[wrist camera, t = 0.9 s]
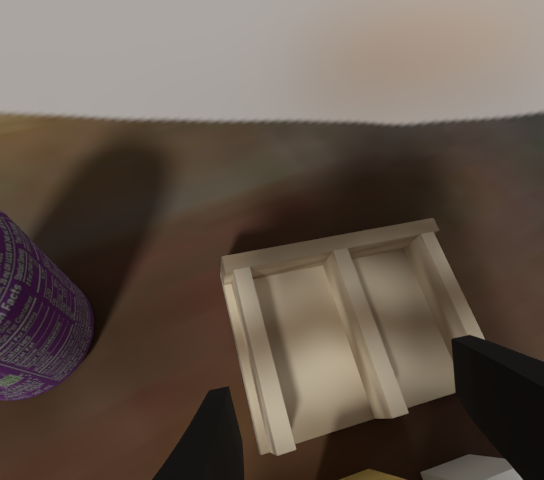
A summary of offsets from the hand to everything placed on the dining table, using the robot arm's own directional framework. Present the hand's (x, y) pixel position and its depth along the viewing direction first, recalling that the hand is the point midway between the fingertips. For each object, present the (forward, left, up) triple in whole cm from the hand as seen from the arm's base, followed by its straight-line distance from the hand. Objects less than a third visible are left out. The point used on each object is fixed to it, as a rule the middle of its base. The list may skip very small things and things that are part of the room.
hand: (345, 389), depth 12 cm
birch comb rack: (+3, -6, -12) cm, 14 cm away
